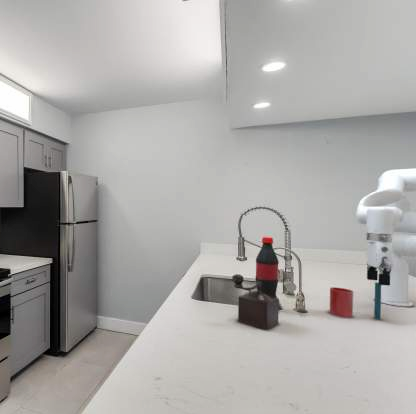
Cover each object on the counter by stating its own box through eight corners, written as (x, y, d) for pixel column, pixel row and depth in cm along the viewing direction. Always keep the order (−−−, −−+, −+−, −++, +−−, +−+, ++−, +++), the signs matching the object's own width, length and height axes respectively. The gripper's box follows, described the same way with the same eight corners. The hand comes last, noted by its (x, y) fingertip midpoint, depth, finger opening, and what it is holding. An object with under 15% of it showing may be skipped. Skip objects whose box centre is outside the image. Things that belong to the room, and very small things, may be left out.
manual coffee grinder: (248, 315, 122) (249, 269, 122) (279, 324, 114) (280, 274, 114) (228, 324, 112) (229, 274, 112) (260, 334, 104) (261, 280, 104)
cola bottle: (275, 306, 134) (276, 236, 134) (279, 312, 126) (281, 238, 126) (253, 304, 137) (254, 235, 137) (256, 310, 129) (258, 237, 129)
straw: (374, 317, 123) (375, 282, 123) (380, 319, 122) (381, 283, 122) (373, 318, 122) (374, 282, 122) (379, 320, 121) (380, 283, 121)
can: (332, 310, 131) (333, 286, 131) (354, 315, 125) (355, 290, 125) (326, 313, 127) (327, 289, 127) (349, 319, 121) (350, 293, 121)
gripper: (403, 240, 112) (402, 288, 112) (380, 237, 128) (379, 279, 128) (377, 239, 115) (376, 286, 115) (357, 236, 131) (356, 277, 131)
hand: (377, 282), depth 122 cm, fingers open, 9 cm apart
